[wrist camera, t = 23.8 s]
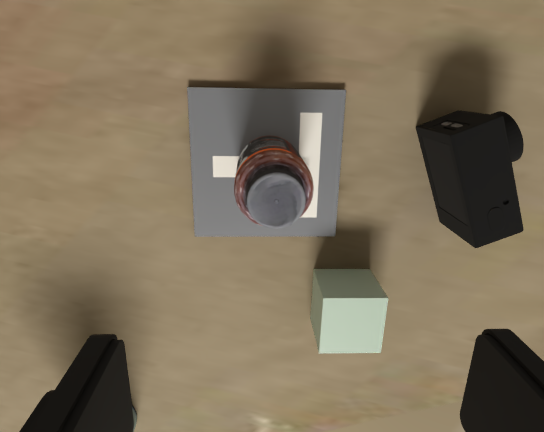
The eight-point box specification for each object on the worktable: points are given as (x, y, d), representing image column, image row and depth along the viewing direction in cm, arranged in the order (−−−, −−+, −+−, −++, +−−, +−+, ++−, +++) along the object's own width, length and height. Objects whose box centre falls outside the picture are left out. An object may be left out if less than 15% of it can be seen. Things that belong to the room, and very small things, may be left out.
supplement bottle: (224, 156, 36) (213, 186, 25) (279, 121, 35) (291, 137, 24) (259, 208, 38) (261, 257, 27) (312, 176, 37) (336, 214, 26)
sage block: (369, 268, 41) (388, 298, 36) (363, 317, 43) (380, 352, 37) (313, 268, 41) (323, 298, 35) (310, 317, 43) (319, 353, 37)
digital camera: (491, 203, 40) (539, 227, 33) (439, 222, 40) (476, 250, 33) (471, 105, 36) (519, 109, 30) (415, 126, 37) (451, 135, 30)
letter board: (344, 89, 35) (346, 90, 35) (334, 234, 40) (335, 236, 39) (188, 87, 34) (187, 87, 34) (195, 234, 39) (194, 236, 38)
